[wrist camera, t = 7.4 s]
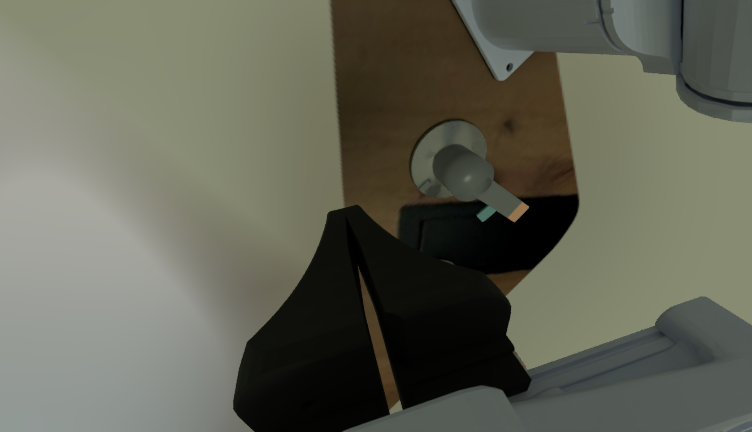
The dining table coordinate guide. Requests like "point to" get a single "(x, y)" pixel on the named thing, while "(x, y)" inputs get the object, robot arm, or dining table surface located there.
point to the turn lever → (474, 180)
